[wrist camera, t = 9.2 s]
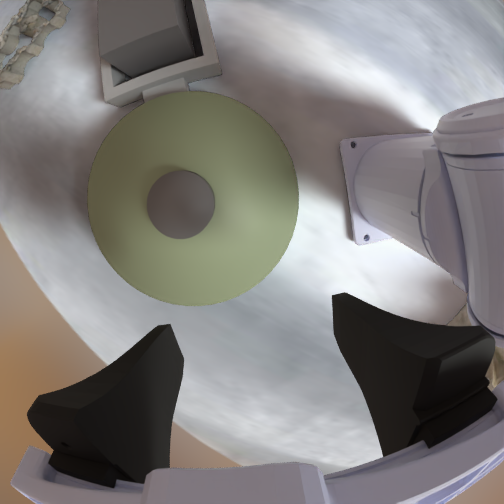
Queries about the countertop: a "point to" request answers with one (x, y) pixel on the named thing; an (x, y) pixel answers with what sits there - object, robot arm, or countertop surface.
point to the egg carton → (30, 26)
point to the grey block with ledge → (143, 34)
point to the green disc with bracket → (190, 185)
